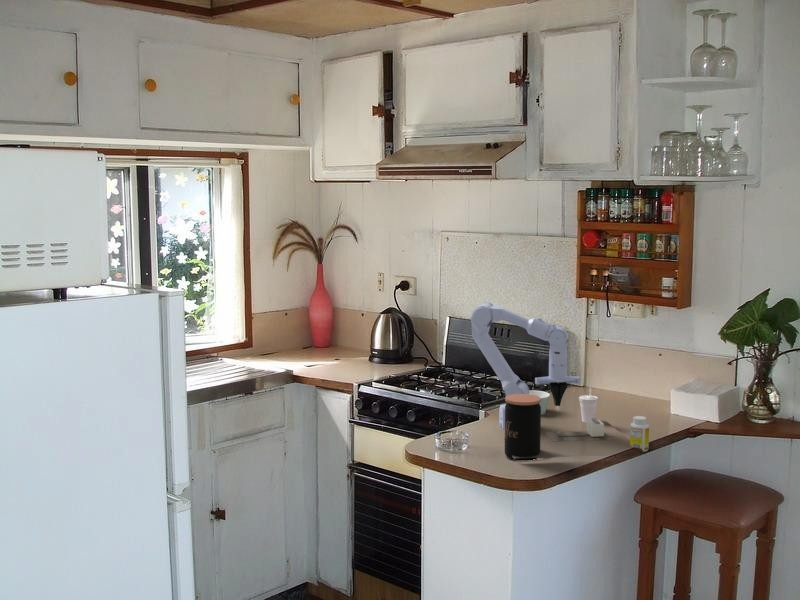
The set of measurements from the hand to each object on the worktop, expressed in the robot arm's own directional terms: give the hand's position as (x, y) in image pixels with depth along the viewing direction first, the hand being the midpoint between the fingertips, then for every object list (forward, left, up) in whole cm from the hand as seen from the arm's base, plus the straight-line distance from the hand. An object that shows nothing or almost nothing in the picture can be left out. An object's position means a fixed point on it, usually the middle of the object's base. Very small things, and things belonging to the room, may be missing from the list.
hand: (557, 405), depth 298 cm
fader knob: (+10, -9, -8) cm, 16 cm away
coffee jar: (-17, -23, -10) cm, 30 cm away
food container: (-1, +28, -10) cm, 30 cm away
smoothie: (+13, +8, -10) cm, 18 cm away
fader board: (+4, -9, -9) cm, 14 cm away
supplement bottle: (+20, -21, -10) cm, 31 cm away
